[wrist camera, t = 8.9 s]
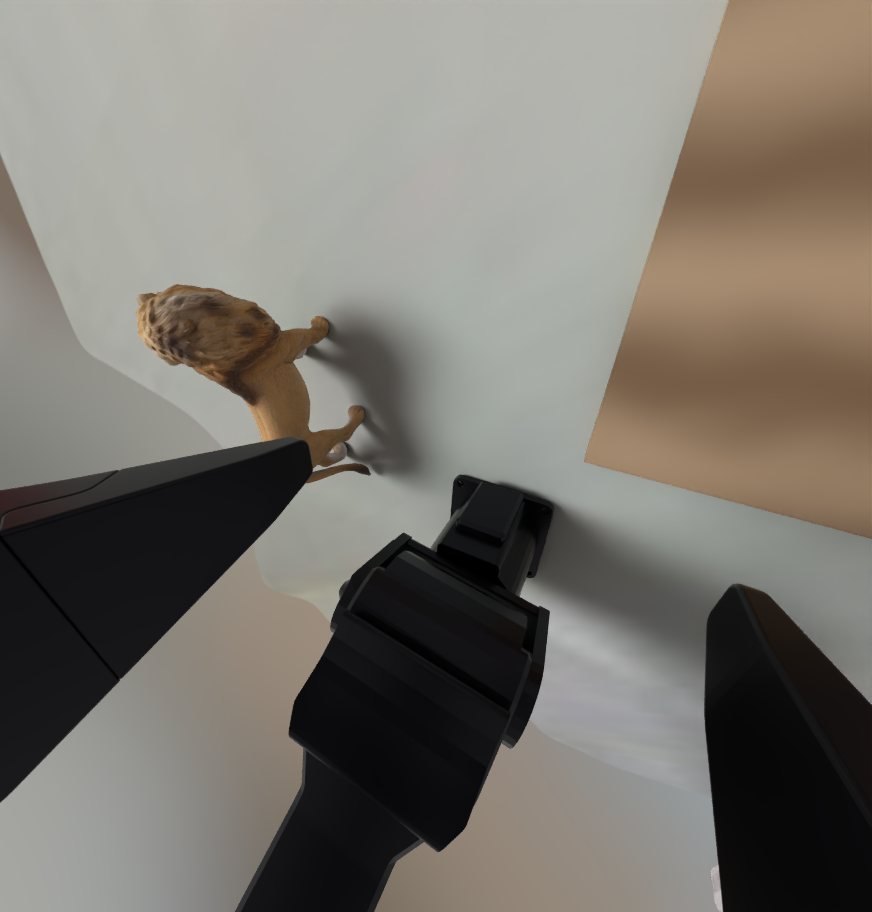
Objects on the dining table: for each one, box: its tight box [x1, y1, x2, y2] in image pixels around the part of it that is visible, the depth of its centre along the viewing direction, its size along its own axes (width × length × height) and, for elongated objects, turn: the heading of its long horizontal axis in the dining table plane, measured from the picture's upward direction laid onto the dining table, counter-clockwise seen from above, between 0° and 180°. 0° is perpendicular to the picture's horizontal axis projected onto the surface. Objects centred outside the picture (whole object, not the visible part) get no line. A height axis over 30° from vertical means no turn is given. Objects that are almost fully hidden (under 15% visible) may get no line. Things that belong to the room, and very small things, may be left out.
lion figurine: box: [136, 284, 371, 483], centre depth 22 cm, size 15×5×9 cm, turn 27°
